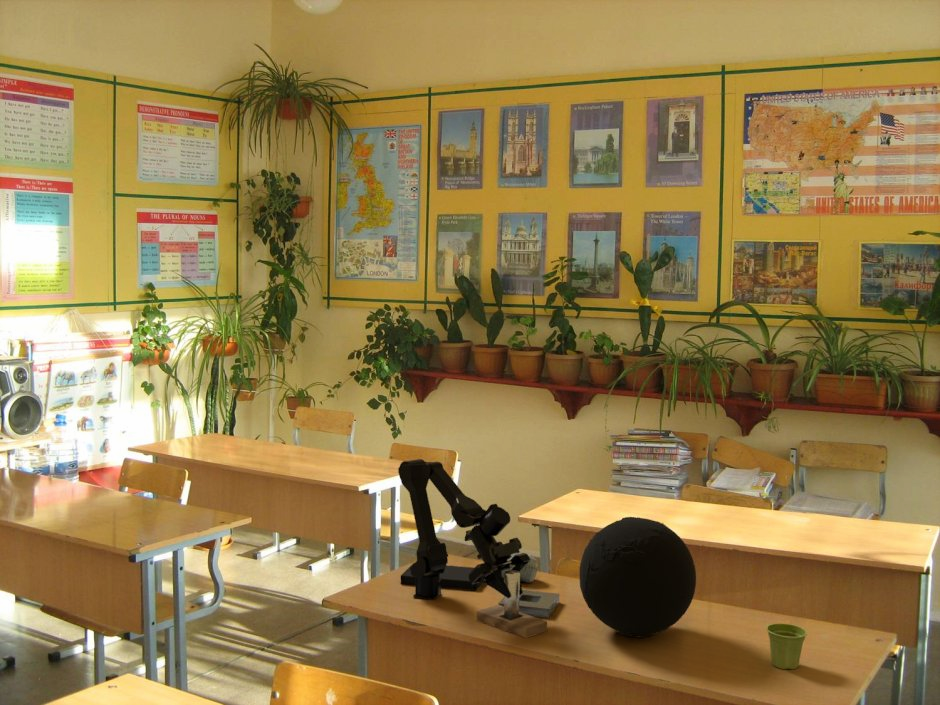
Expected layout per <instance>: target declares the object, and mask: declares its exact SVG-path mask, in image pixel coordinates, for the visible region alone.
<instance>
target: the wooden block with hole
mask: <svg viewBox="0 0 940 705" xmlns="http://www.w3.org/2000/svg"><path fill="white" fill-rule="evenodd" d="M475 621H477V622H481V623H484V624H485V625H486V624H487V625H489V626H492V627H494V628H497V629H500V630H504V631H506V632H509V633H510V634H511V633H512V634H514V635H517V636H519V637H521V638H526V639H527V638H529V637H532V636H536V635H539V634H542V633H544V632H547V631H548V621H547V620H544V619H543V618H542V619H541V618H540V617H535V616H530V615H527V614H524V613H521V612H519V618H516V619H513V620H508V619H505V618H504V607H503V606H500V605H498V604H495V605H491V606H488V607H485V608H482V609H479V610H476V620H475Z"/></svg>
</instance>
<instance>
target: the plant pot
mask: <svg viewBox="0 0 940 705" xmlns="http://www.w3.org/2000/svg"><path fill="white" fill-rule="evenodd" d="M766 631H767V635H768V639H769V646H770V648H769V649H770V658H771V664H772V665H773V666H774V667H776V668H778V669H782V670H788V669H789V670H790V669H791V670H795V669H798V667H799V664H800V658H801V654H802V649H803V644H804V642H805V639H806V636H807V635H808V631H807V629H805V627H804V628H803V627H801V626H799V625H796V624H792V623H786V622H785V623H783V622H779V623H771V624H768V625H766Z"/></svg>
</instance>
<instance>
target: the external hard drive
mask: <svg viewBox="0 0 940 705" xmlns="http://www.w3.org/2000/svg"><path fill="white" fill-rule="evenodd" d="M414 563H415V562H413V563H411V565H410V566H409V567H408V568H406V570H405V571H404V572H403V573H402V574H401V575H400V585H404V586H405V585H406V586H407V585H408V586H415V584H416V577H415V576H412V575H411V571H410V568H411V567H412V565H413V564H414ZM474 568H475V567H469V566H457V565H447V564H446V567H445V570H444V573H443V574H442V573H441V574H440V579H441V589H451V590H464V591H465V590H466V591H478V589H479V588H480V587H481V586H482V584H483V581H484V580H485V579H484V576H481V577H480V578H481V580H480V582H479V583H476V584H472V583H471V582H470V580H469V573H470V572H471V571H472V570H473V569H474Z"/></svg>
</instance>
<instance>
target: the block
mask: <svg viewBox="0 0 940 705" xmlns="http://www.w3.org/2000/svg"><path fill="white" fill-rule="evenodd" d="M522 592H523V593H522V594H521V595H519V612H521V613H524V614H527V615H530V616H533V617H536V618H546V619H549V618H550V616H551V615H552V614H553V612H554V611H555V609H556V608H557V606H559V604H560V593H556V592H555V593H554V592H547V591H537V590H536V591H535V590H530V589H529V590H528V589H522ZM497 605H500V606H503V607H504V597H503V598H502V599H501V600H500V601H499V602H498V604H497Z"/></svg>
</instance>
